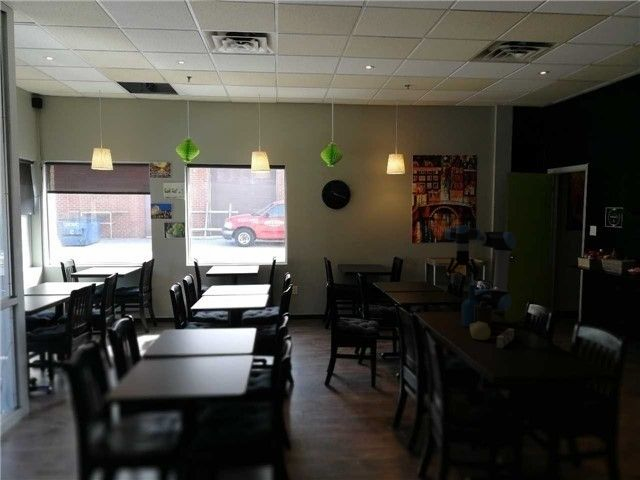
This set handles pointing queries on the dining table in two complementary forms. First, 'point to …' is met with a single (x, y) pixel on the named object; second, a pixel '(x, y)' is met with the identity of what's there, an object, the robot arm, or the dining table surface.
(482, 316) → the canister
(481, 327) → the sculpture
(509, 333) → the board
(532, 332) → the dining table surface
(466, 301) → the wine bottle
